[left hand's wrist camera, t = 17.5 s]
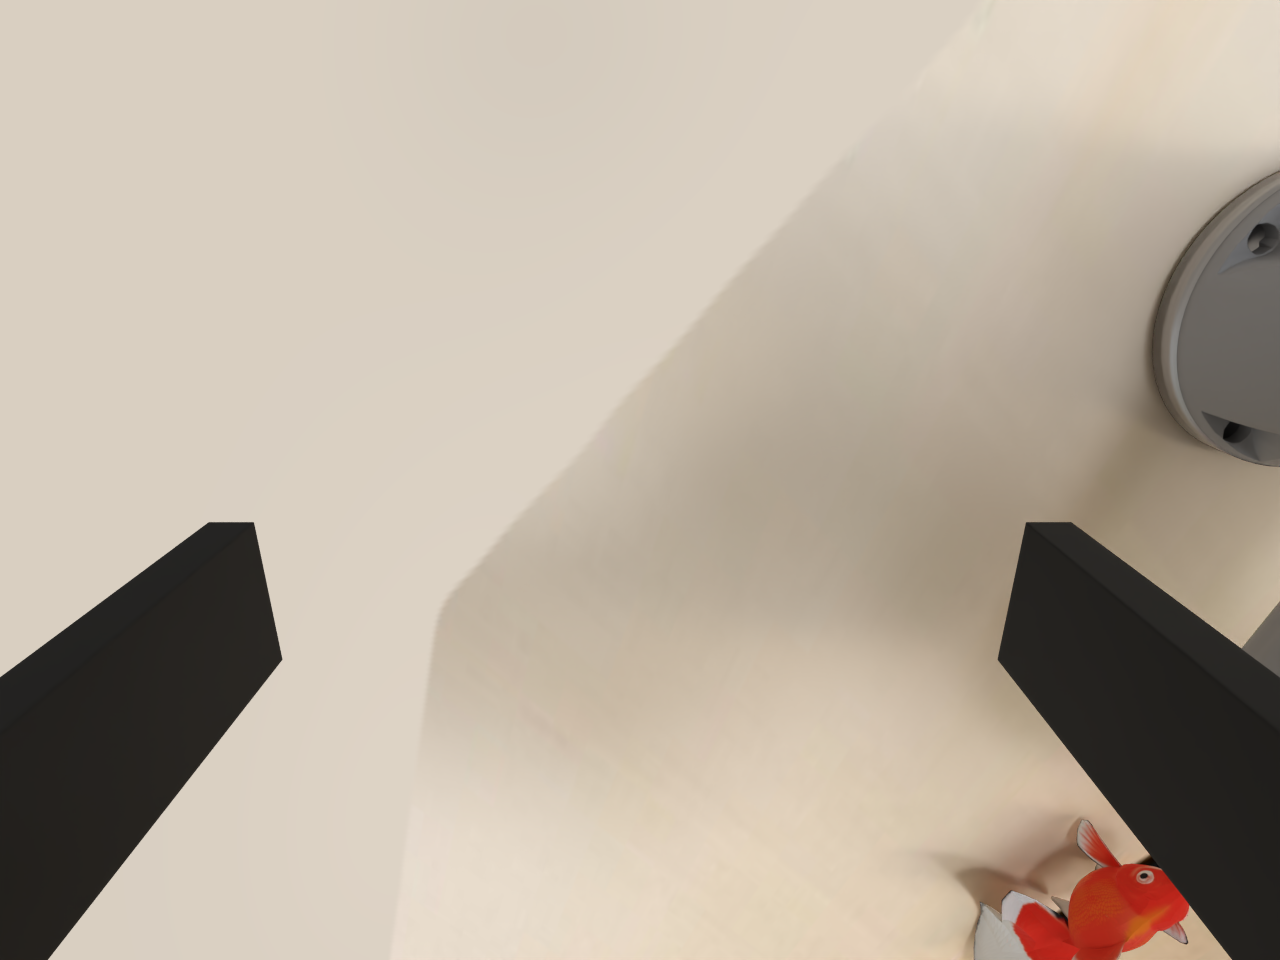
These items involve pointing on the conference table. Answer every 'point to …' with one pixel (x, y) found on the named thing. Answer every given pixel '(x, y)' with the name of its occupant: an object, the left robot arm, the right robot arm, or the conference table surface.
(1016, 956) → the fish
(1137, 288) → the conference table surface
